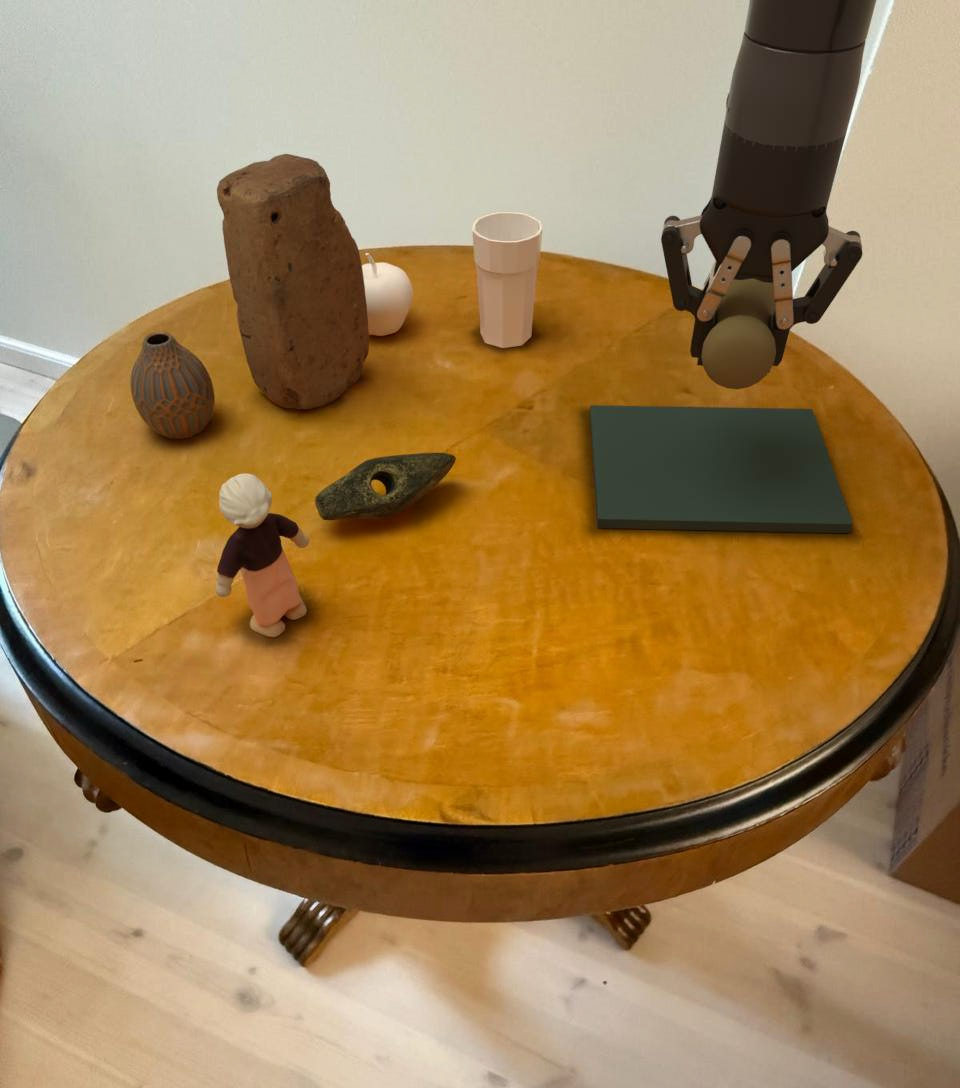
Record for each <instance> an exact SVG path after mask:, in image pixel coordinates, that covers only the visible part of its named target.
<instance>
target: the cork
mask: <svg viewBox="0 0 960 1088" xmlns="http://www.w3.org/2000/svg"><path fill="white" fill-rule="evenodd" d="M709 274H710V272H709V273H708V276H707V277H706V279H705V281H704V283H703V286H704V285H705V283H706V281H707V279H708V277H709ZM774 312H775V301H774V286H773V283H768V282H762V281H759V280H757V279H754V278H751V279H745V280H735V279H733V281H732V283H731V285H730V287H729V289H728V291H727V293H726V295H725V296H724V297H723V298H722V300H721V302H720V304H719V306H718V308H717V310H716V314H715V324H714V327H713V328H712V329H711V331H710V332H709V334H708V335H707V337H706V339H705V341H704V343H703V349H702V356H701V357H702V363H703V366H702V367H703V369H704V372H705V373H706V375H707V376H708V378H709V379H710V380H711V381H712V382H714V383H715V384H716V385H718V386H720V387H723V388H726V389H729V390H730V389H731V390H741V389H747V388H750V387H752V386H754V385H757V384H758V383H760V382H762V380H764V378H765V377H767V375H768V374H769V373H770V372H771V369H772V368H773V367H774V366H773V364H774V360H775V355H776V345H775V338H774V337H773V335H772V333H771V331H770V329H769V325H770V315H771V314H774ZM769 371H770V372H769ZM768 372H769V373H768Z"/></svg>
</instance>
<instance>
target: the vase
mask: <svg viewBox="0 0 960 1088" xmlns="http://www.w3.org/2000/svg"><path fill="white" fill-rule="evenodd" d="M211 378H212V377H211V376H210V373H209V372H208V370H207V368H206V366H205V365H204V363H203V362H202V361H201V359H200V358H199V357H198V356H197V355H196V354H194V353H193V352H192V351H190V350H189V349H187V347H185V346H184V345H182V344H181V343H179V342H178V341H177V339H175V337H174V336H173V334H171V333H169V332H167V331H155V332H151V333H148V334H147V335H146V336H145V337H143V340H142V347H141V350H140V352H139V354H138V356H137V357H136V360H135V362H134V364H133V366H132V369H131V374H130V392H131V397H132V401H133V404H134V407H135V410H136V412H137V413H138V415H139V417H140V418H141V419H142V421H143V422H144V423H145V425H146V426H148V428H150V429H151V430H153V431H154V432H155V431H156V432H155V433H156V434H158V435H161V436H163V437H166V438H169V439H173V440H180V439H187V438H191V437H195V436H196V435H198V434H199V433H201V432H202V431H204V429H205V428H206V427H207V425H208V424H209V423H210V421H211V419H212V418H213V415H214V411H215V403H216V398H215V396H216V395H215V389H214V384H213V382H212V379H211Z"/></svg>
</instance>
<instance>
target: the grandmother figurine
mask: <svg viewBox="0 0 960 1088" xmlns="http://www.w3.org/2000/svg"><path fill="white" fill-rule="evenodd" d="M218 494H219V496H218V498H219V499H218V500H219V502H218V506H219V510H220V512H221V513H222V515H223V516H224V518H225V519H226V521H228V523H231V524H233V525H234V526H236V527H238V528H236V530H235V531H234V532H232V534H231V535H230V536H229V538H228V539H227V541H226V543H225V545H224V547H223V550H222V553H221V556H220V559H219V562H218V565H217V568H216V572H217V577H216V581H217V583H216V585H215V587H214V590H215V593H216V594H217V596H219V597H222V598H225V597H228V596H230V595H231V594H232V585H233V583H234V579H235V577H236V576H237V575H238V573H239V572H240V574H241V577H242V580H243V583H244V587H245V592H246V598H247V602H248V607H249V608H250V609H251V611H252V614H253V615H252V616H251V617H250V620H249V627H250V629H251V630H252V631H254V632H255V633H257V634H260V635H263V636H264V637H268V638H276V637H279V636H280V635H281V634H282V633H284V632H285V630H286V624H285V623H284V621H282V620H281V618H283V616H285V618H287V619H289V620H291V621H292V620H298V619H301V618H303V617H304V616H305V615H306V614H307V612H308V609H307V606H306V604H305V603H304V601H303V598H302V596H301V594H300V591H299V585H298V583H297V579H296V576H295V574H294V572H293V569H292V566H291V565H290V562H289V560H288V557H287V555H286V553H285V551H284V548H283V546H282V539H281V537H283V538H286V539H289V540H290V541H291V542H293V543H294V544H295V546H296V547H297V548H300V549H304V548H306V547H308V545H309V544H310V538H309V536H308V535H307V534H306V533H304V531H303V530H302V529H301V528H300V527H299V525H298V524H297V522H295V521H294V520H291V519H290V518H288V517H287V516H284V515H282V514H279V513H273V512H270V509H271V506H272V504H273V501H272V500H273V496H272V492H271V491H270V490H269V489H268V488H267V486H266V485H265V484H264V483H263V481H262V480H261V479H260V478H258V477H257V476H256V475H255V474H253V473H252V474H251V473H239V474H237V475H234V476H232V477H230V478H229V479H228V480H226V482H224V483H223V484H222V485H221V488H220V489H219V493H218Z"/></svg>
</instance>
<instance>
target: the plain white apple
mask: <svg viewBox="0 0 960 1088" xmlns="http://www.w3.org/2000/svg"><path fill="white" fill-rule="evenodd" d="M364 255H365V256H366V258H367V260H368V261H369V263H364V264H362V271H363V277H364V285H365V296H366V305H367V315H368V329H369V336H378V337H383V336H385V337H386V336H387V335H392V334H395V333H397V332H398V331H399V330H401V328H402V326H403V325H404V322H405V320H406V319H407V315H408V313H409V311H410V309H411V306H412V303H413V297H414V290H413V285H412V283H411V280H410V277H408V275H407V273H406V272H405V271H404V270H403V269H402V268H401V267H399V266H396V265H393V264H390V263H388V262H384V261H382V262H375V260H374V259H373V257H372V256H371V254H370V253H369V252H367V253H365V254H364Z"/></svg>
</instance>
